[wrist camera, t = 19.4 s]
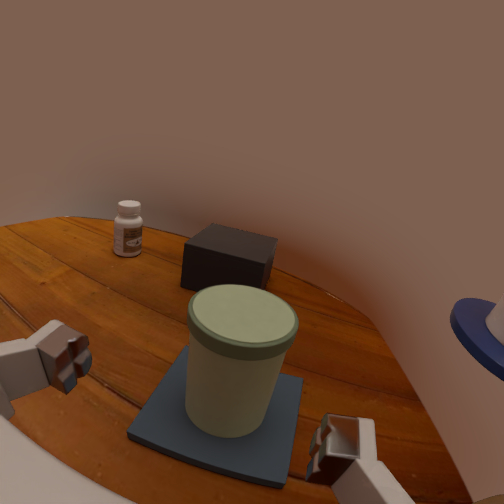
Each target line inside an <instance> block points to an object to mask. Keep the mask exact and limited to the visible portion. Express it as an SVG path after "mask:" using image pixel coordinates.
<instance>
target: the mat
mask: <svg viewBox="0 0 504 504" xmlns="http://www.w3.org/2000/svg"><path fill="white" fill-rule="evenodd" d="M188 352H189V346H187V345H186V346H185V347H184V349H183V350H182V351H181V353H180V354H179V356H178V357H177V359H176V360H175V362H174V363H173V364H172V366H171V367H170V369H169V370H168V372H167V373H166V375H165V376H164V377H163V379H162V380H161V382H160V383H159V385H158V386H157V388H156V389H155V391H154V392H153V393H152V395H151V396H150V398H149V399H148V401H147V402H146V404H145V405H144V406H143V408H142V409H141V411H140V412H139V414H138V415H137V417H136V418H135V419H134V421H133V422H132V424H131V425H130V427H129V428H128V430H127V435H128V438H129V439H131V440H134V441H136V442H138V443H140V444H142V445H144V446H147V447H149V448H151V449H154V450H156V451H158V452H161V453H163V454H166V455H168V456H171V457H173V458H176V459H178V460H181V461H184V462H186V463H189V464H192V465H195V466H198V467H201V468H204V469H207V470H210V471H213V472H216V473H220V474H223V475H226V476H230V477H233V478H237V479H241V480H245V481H248V482H253V483H257V484H261V485H265V486H270V487H275V488H280V489H282V488H283V486H284V485H285V484H286V479H287V474H288V469H289V464H290V459H291V453H292V448H293V442H294V436H295V430H296V424H297V418H298V411H299V405H300V398H301V391H302V384H303V378H299V377H295V376H291V375H287V374H283V373H279V375H278V378H277V381H276V384H275V387H274V390H273V393H272V396H271V399H270V402H269V405H268V408H267V410H266V413H265V416H264V419H263V421H262V423H261V424H260V426H259V427H258V428H257V429H256V430H254V431H253V432H251V433H249V434H247V435H245V436H241V437H236V438H222V437H217V436H214V435H211V434H208V433H206V432H204V431H202V430H201V429H199V428H198V427H197V426H196V425H195V424H194V423H193V422H192V421H191V420H190V418H189V416H188V414H187V412H186V408H185V398H186V381H187V366H188Z"/></svg>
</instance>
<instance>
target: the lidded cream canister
mask: <svg viewBox="0 0 504 504" xmlns="http://www.w3.org/2000/svg"><path fill="white" fill-rule="evenodd" d="M187 325H188V328H189V330H190V339H189V352H188V366H187V381H186V398H185V408H186V412H187V414H188V416H189V418H190V420H191V421H192V422H193V423H194V424H195V425H196V426H197V427H198V428H199V429H201V430H202V431H204V432H206V433H208V434H211V435H214V436H217V437H222V438H236V437H241V436H245V435H247V434H249V433H251V432H253V431H254V430H256V429H257V428H258V427H259V426H260V424H261V423H262V421H263V419H264V416H265V413H266V410H267V408H268V405H269V402H270V399H271V396H272V393H273V390H274V387H275V384H276V381H277V378H278V375H279V372H280V369H281V366H282V363H283V360H284V357H285V354H286V351H287V350H288V349H289V348H290V347H291V345H292V344H293V342H294V339H295V336H296V333H297V330H298V325H299V323H298V317H297V315H296V313H295V311H294V310H293V308H292V307H291V306H290V305H289V304H288V303H286V302H285V301H284V300H282V299H281V298H279V297H277V296H276V295H274V294H272V293H269V292H267V291H264V290H261V289H258V288H254V287H250V286H244V285H234V284H226V285H216V286H211V287H208V288H205V289H203V290H200V291H199V292H197V293H196V294H195V295H194V296H193V297H192V298H191V300H190V302H189V304H188V312H187Z"/></svg>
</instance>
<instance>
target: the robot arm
mask: <svg viewBox="0 0 504 504" xmlns="http://www.w3.org/2000/svg"><path fill="white" fill-rule="evenodd" d="M485 323H486V326H487V328H488V329H489V331H490V332H491V333H492V335H493V336H494V337H495V338H496V339H497V340H498V341H499V342H500V343H501V344H502V345H503V346H504V294H503V295H502V297H501V298H500V300H499V302H498V303H497V304H496V306H495V307H494V308H493V310H492V311H491V312H490V313H489V314H488V316H487V317H486V318H485ZM88 345H89V340H88V336H86V335H84V334H83V333H81V332H79V331H77V330H75V329H73V328H71V327H69V326H68V325H66V324H64V323H62V322H60V321H58V320H51V321H50V322H49V323H47V324H46V325H45V326H43V327H42V328H41V329H39V330H38V331H37V332H35V333H34V334H33V335H32V336H30V337H29V338H28V339H26V340H25V339H18V340H13V341H8V342H2V343H0V504H137V503H135V502H133V501H130V500H128V499H126V498H124V497H122V496H120V495H118V494H116V493H114V492H112V491H110V490H108V489H107V488H105V487H103V486H101V485H99V484H97V483H96V482H94V481H92V480H90V479H89V478H87V477H85V476H84V475H82V474H80V473H79V472H77V471H75V470H74V469H72V468H71V467H69V466H68V465H66V464H64V463H63V462H61V461H60V460H59V459H57V458H56V457H54V456H53V455H51V454H50V453H48V452H47V451H46V450H44V449H43V448H42V447H40V446H39V445H38V444H36V443H35V442H34V441H32V440H31V439H30V438H28V437H27V436H26V435H25V434H23V433H22V432H21V431H20V430H19V429H17V428H16V427H15V426H14V425H13V424H11V423H10V422H9V421H8V420H9V419H10V418H11V417H12V416H13V415H14V414H15V410H14V408H13V406H12V405H11V403H10V401H12V400H14V399H17V398H20V397H22V396H25V395H28V394H30V393H33V392H36V391H38V390H41V389H44V388H46V387H49V386H50V385H51V386H52V387H54V388H56V389H57V390H59V391H61V392H62V393H64V394H66V395H67V394H68V393H69V392H70V391H71V390H72V389H73V388H74V387H75V386H76V385H77V378H81V377H84V376H85V375H86V374H87V373H88V372H89V369H90V367H91V365H92V356H91V353H90V351H89V350H88V348H87V347H88ZM309 455H310V456H311V458H312V459H311V461H310V462H309V464H308V466H307V474H306V482H309V483H315V484H321V485H328V486H331V488H332V490H333V492H334V494H335V496H336V498H337V500H338V502H339V504H415V503H414V501H413V500H412V499H411V498H410V496H409V495H408V494H407V493H406V491H405V490H404V489H403V488H402V486H401V485H400V484H399V483H398V481H397V480H396V479H395V478H394V476H393V475H392V474H391V473H390V471H389V470H388V469H387V467H386V466H385V465H384V464H383V462H382V461H377V451H376V438H375V427H374V421H373V419H366V418H359V417H352V416H345V415H338V414H332V413H326V414H325V415H324V416H323V418H322V422H321V426H320V427H318V428H317V429H316V431H315V433H314V435H313V438H312V441H311V445H310V451H309Z"/></svg>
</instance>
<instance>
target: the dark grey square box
mask: <svg viewBox="0 0 504 504" xmlns="http://www.w3.org/2000/svg"><path fill="white" fill-rule="evenodd" d="M277 241H278V239H277V238H273V237H268V236H264V235H260V234H256V233H252V232H248V231H243V230H239V229H235V228H231V227H226V226H222V225H218V224H214V223H212V224H211V225H209V226H208V227H206V228H205V229H203V230H202V231H201V232H199V233H198V234H197V235H195V236H194V237H192V238H191V239H189V240H188V241H187V242H185V244H184V253H183V264H182V275H181V287H184V288H187V289H190V290H194V291H197V292H199V291H200V290H203V289H205V288H208V287H211V286H216V285H226V284H234V285H244V286H250V287H254V288H258V289H261V290H264V288H265V286H266V284H267V281H268V279H269V277H270V273H271V268H272V264H273V259H274V254H275V250H276V246H277Z"/></svg>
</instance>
